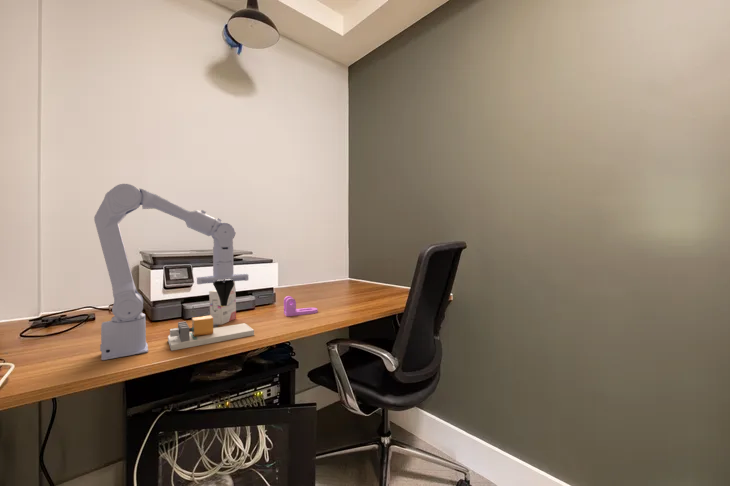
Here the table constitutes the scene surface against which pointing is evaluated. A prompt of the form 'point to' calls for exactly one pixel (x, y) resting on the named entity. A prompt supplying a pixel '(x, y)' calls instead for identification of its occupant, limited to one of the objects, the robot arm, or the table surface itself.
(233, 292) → the ink cartridge box
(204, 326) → the orange block
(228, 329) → the board
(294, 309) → the bracket
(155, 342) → the table surface
